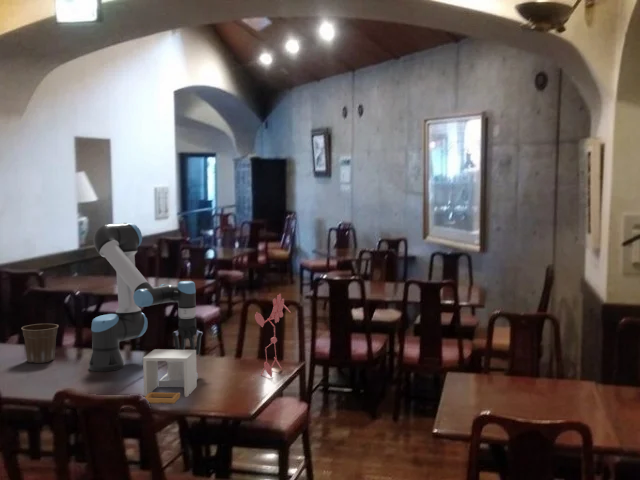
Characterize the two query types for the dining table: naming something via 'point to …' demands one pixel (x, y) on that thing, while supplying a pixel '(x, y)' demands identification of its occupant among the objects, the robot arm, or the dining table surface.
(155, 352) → the tunnel
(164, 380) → the square frame with handle
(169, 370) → the white cup
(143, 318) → the robot arm
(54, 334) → the plant pot
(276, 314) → the figurine
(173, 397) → the frame
